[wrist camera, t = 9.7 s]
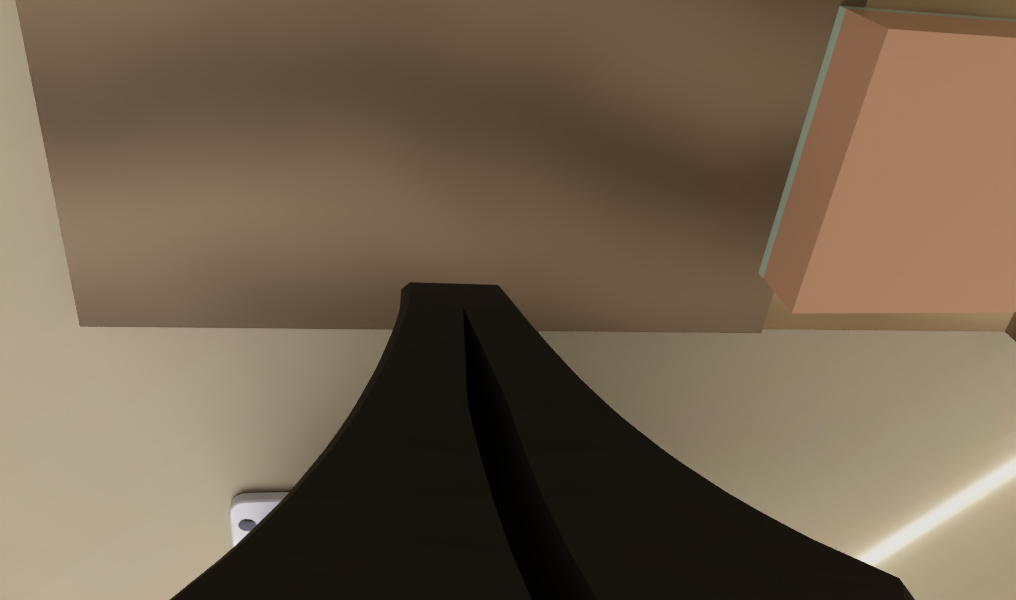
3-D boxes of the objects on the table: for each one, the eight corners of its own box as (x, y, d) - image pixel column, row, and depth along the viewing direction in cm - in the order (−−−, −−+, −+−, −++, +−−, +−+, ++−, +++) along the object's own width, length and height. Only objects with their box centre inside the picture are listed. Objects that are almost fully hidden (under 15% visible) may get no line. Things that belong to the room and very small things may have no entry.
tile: (758, 272, 22) (982, 274, 24) (791, 313, 21) (1031, 311, 22) (839, 5, 19) (1099, 25, 20) (888, 28, 17) (1167, 48, 19)
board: (1012, 313, 26) (1060, 355, 24) (93, 300, 21) (67, 349, 20) (1201, -62, 20) (1284, -45, 19) (3, -191, 16) (-45, -186, 14)
